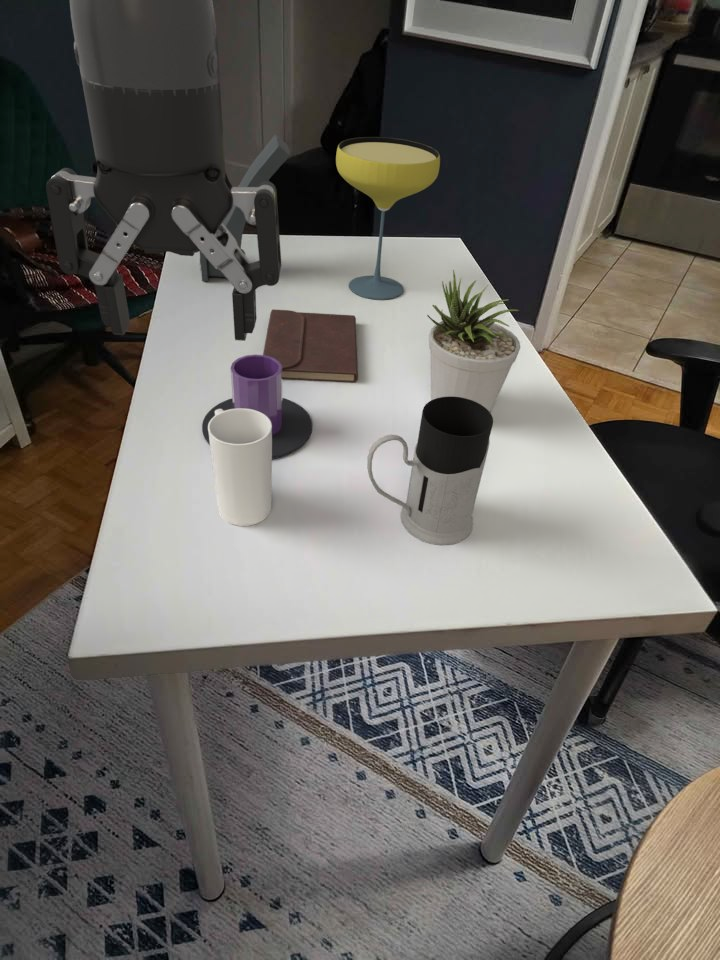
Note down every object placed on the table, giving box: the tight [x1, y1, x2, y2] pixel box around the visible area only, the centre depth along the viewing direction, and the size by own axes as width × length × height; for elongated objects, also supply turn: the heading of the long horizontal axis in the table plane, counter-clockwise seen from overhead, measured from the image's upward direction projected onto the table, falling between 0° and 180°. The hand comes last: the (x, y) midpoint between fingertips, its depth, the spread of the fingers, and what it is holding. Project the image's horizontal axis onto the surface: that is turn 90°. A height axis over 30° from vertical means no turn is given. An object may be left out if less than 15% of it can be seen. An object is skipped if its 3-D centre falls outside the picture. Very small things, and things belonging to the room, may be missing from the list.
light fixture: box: [199, 134, 291, 282], centre depth 121 cm, size 11×17×24 cm, turn 99°
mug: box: [208, 408, 273, 527], centre depth 74 cm, size 10×7×12 cm, turn 35°
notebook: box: [262, 309, 359, 383], centre depth 106 cm, size 15×20×2 cm
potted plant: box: [426, 269, 521, 413], centre depth 90 cm, size 13×14×20 cm
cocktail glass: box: [335, 136, 441, 301], centre depth 119 cm, size 18×18×25 cm
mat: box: [201, 397, 313, 460], centre depth 89 cm, size 15×15×1 cm
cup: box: [230, 354, 284, 435], centre depth 86 cm, size 6×6×9 cm
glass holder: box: [366, 396, 494, 546], centre depth 72 cm, size 9×14×15 cm, turn 111°
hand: (181, 332), depth 47 cm, fingers open, 8 cm apart
